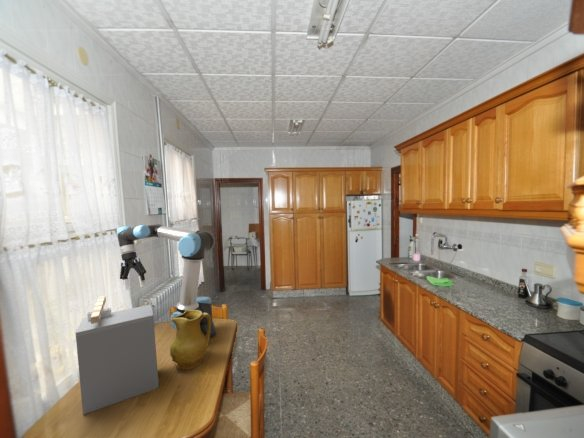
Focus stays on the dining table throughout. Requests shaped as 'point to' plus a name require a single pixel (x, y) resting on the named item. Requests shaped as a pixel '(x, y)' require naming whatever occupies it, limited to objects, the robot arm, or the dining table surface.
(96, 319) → the rod
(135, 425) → the dining table surface
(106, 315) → the ridge
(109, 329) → the stand
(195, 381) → the dining table surface
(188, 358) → the pitcher
